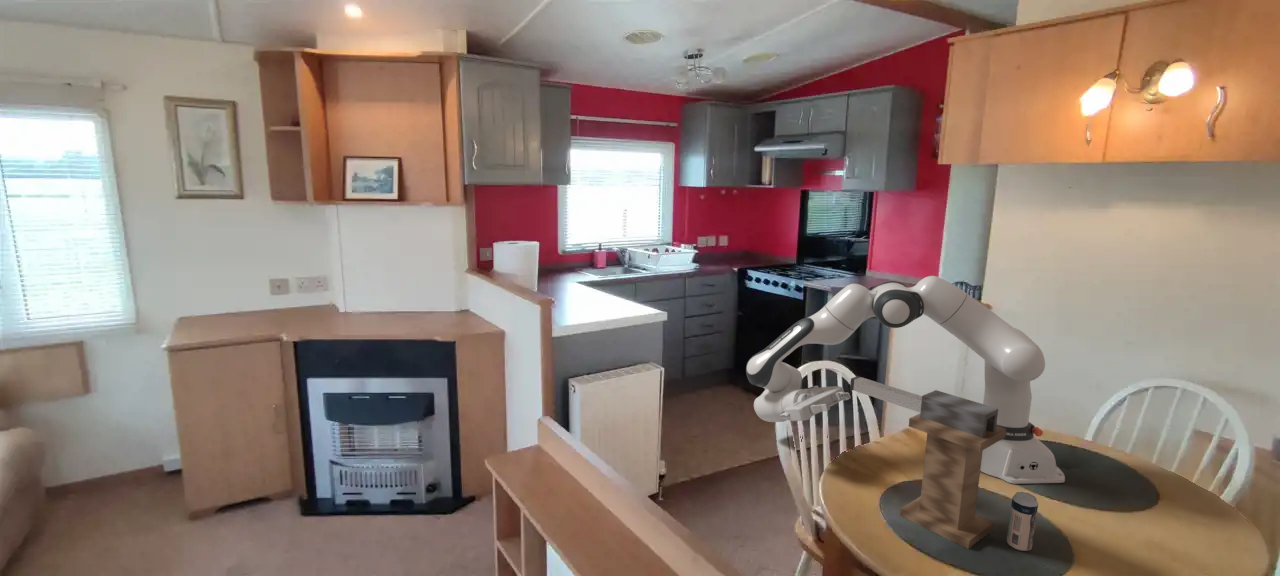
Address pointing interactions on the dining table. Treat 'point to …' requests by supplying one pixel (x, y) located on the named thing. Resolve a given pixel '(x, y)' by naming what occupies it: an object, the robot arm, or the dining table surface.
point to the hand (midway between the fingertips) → (838, 401)
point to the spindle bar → (887, 393)
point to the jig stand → (953, 466)
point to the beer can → (1022, 521)
